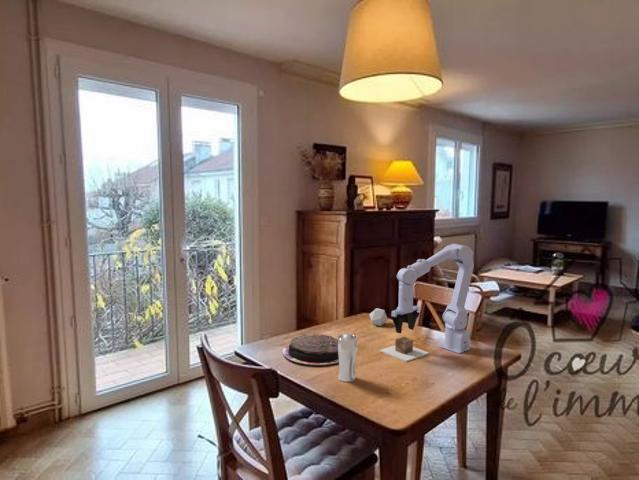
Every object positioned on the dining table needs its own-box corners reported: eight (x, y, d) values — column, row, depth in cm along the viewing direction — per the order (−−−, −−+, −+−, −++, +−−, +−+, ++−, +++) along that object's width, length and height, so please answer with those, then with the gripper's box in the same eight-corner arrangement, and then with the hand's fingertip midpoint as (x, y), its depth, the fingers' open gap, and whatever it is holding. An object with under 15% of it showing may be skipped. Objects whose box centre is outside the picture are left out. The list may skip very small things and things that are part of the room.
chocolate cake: (360, 348, 177) (361, 333, 177) (335, 373, 152) (335, 355, 151) (301, 338, 189) (301, 324, 188) (269, 360, 164) (269, 344, 163)
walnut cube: (412, 351, 171) (413, 339, 171) (404, 354, 168) (405, 342, 168) (403, 348, 175) (403, 336, 175) (395, 350, 172) (395, 338, 172)
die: (390, 326, 208) (387, 308, 213) (384, 322, 202) (381, 303, 206) (375, 330, 211) (372, 312, 216) (369, 326, 204) (366, 307, 209)
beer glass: (344, 372, 152) (345, 332, 150) (360, 377, 148) (361, 336, 146) (332, 378, 147) (333, 337, 145) (349, 384, 142) (349, 341, 141)
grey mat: (428, 353, 171) (428, 352, 170) (406, 362, 162) (406, 360, 162) (402, 344, 182) (402, 342, 181) (379, 351, 173) (379, 349, 173)
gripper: (409, 293, 177) (408, 325, 178) (386, 298, 168) (385, 331, 169) (423, 297, 171) (422, 329, 173) (399, 302, 163) (398, 336, 164)
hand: (404, 330), depth 171 cm, fingers open, 7 cm apart
